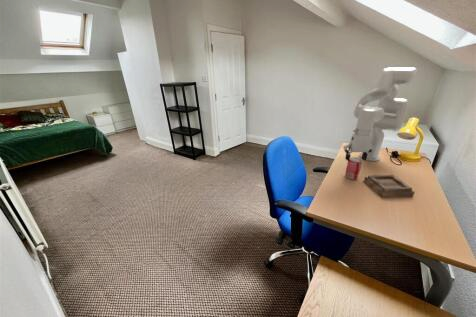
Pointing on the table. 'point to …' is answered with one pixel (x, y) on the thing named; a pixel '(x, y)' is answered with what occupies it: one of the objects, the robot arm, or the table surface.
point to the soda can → (353, 168)
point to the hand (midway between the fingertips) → (355, 159)
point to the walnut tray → (388, 186)
